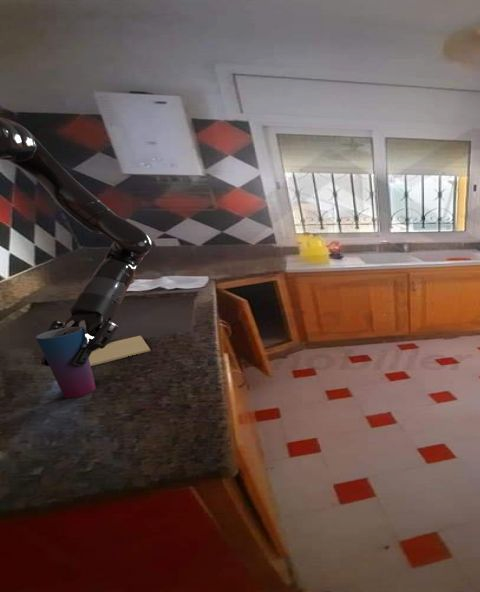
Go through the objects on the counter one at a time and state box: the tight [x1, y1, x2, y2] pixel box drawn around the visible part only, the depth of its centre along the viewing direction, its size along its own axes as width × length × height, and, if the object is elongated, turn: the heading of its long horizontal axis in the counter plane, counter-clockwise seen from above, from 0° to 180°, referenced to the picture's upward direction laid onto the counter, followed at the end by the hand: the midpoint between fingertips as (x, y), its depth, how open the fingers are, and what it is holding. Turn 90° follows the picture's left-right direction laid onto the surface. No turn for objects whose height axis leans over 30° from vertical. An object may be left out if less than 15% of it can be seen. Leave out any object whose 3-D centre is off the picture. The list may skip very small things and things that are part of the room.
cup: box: [35, 327, 96, 399], centre depth 71 cm, size 7×7×15 cm
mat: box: [89, 335, 151, 367], centre depth 93 cm, size 16×16×1 cm
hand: (61, 365), depth 69 cm, fingers closed on cup, 6 cm apart
